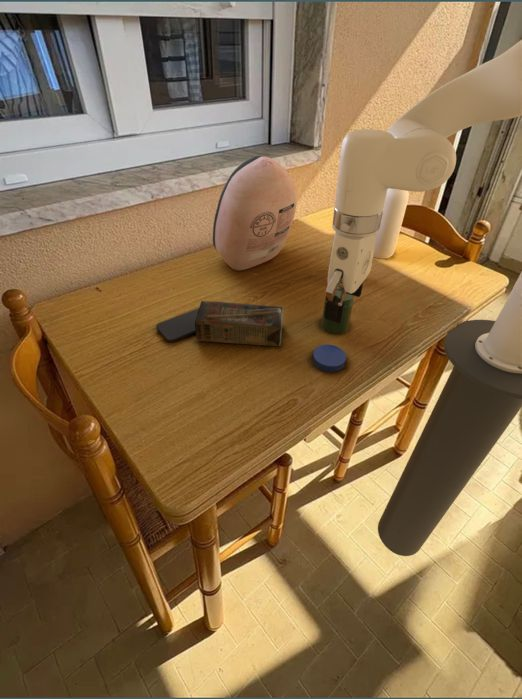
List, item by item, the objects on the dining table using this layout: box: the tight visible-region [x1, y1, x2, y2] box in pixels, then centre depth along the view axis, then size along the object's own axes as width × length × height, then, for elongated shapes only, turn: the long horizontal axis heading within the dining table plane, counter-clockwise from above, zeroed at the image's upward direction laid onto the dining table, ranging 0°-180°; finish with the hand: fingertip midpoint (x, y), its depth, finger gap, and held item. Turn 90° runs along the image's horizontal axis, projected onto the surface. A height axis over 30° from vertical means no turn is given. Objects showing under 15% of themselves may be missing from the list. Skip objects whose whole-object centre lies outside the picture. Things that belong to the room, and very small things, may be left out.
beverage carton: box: [195, 300, 284, 347], centre depth 85 cm, size 8×19×7 cm, turn 86°
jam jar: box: [320, 290, 355, 335], centre depth 88 cm, size 6×6×9 cm
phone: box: [156, 308, 199, 343], centre depth 90 cm, size 7×1×15 cm
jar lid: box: [312, 344, 347, 373], centre depth 81 cm, size 7×7×2 cm
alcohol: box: [373, 188, 410, 259], centre depth 109 cm, size 9×9×30 cm
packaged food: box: [212, 155, 298, 272], centre depth 103 cm, size 22×20×30 cm
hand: (343, 306), depth 72 cm, fingers open, 9 cm apart
